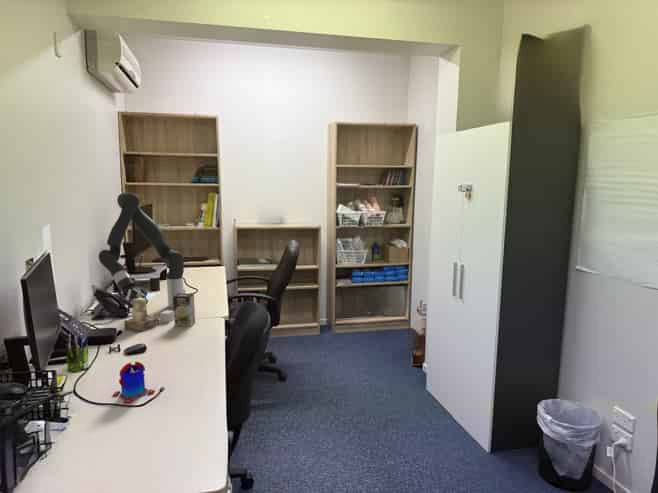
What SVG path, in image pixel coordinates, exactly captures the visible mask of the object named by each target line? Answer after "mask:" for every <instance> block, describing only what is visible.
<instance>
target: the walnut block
mask: <svg viewBox="0 0 658 493" xmlns="http://www.w3.org/2000/svg"><path fill="white" fill-rule="evenodd" d="M157 322H158V321H157V318H155V317H152V316H148V315H147V320H144V321H141V322H137V321H133V317H132V318H130V319H126V320H124V322H123V323H124V330H125V329H126V330H128V331H132V332H135V333H141V332H143V331H147V330H150V329H152V328H155V327H158V323H157Z"/></svg>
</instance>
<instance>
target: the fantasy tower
mask: <svg viewBox="0 0 658 493" xmlns="http://www.w3.org/2000/svg"><path fill="white" fill-rule="evenodd" d="M145 371H146V367H145V365H144V364H143V363H141V362H139V361H134V364H132V362H128V363H126V364H125V365H124V366H123V367H122V368H121V369H120V370H119V376H120V379H118V383H119V385H120V387H121V391H119V390H118V391H115V392H113V394H112V395H111V397H112V398H118V399H120V400H121V401H123V405H131V404H132V403H134V401H136V400H138V399H141V398H143V397H146V396H151V395H154V394H155V393H156V390H154V389H151V388H150V389H147V388H146V384H145ZM154 392H155V393H154Z"/></svg>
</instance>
